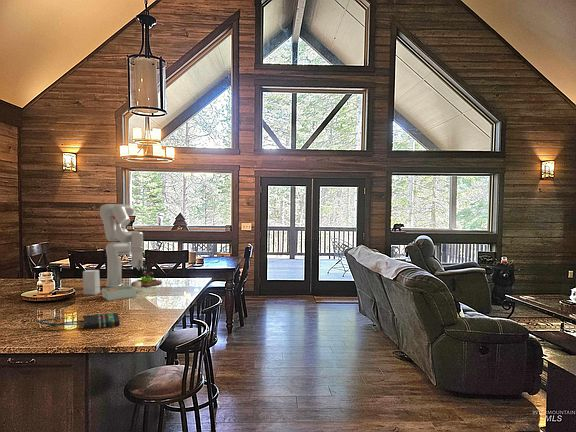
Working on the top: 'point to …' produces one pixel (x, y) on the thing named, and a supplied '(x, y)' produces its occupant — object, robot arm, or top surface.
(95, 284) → the skincare box
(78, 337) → the top surface
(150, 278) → the plant
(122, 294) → the sage tote
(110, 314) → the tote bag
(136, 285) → the birch cylinder
